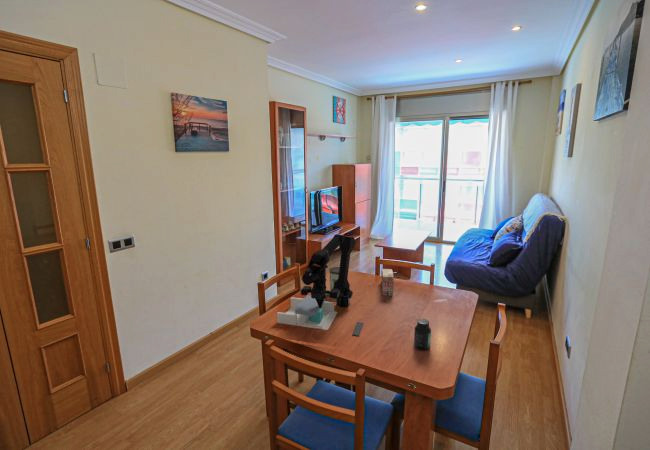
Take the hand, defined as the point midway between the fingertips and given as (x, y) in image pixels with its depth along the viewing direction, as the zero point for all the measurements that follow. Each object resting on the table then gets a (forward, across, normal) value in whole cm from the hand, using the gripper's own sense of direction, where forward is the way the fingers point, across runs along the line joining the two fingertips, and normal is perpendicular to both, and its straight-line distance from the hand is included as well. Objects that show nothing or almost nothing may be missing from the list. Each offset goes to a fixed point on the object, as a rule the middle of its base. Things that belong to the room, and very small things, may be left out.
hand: (320, 308), depth 167 cm
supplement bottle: (+8, +49, -10) cm, 50 cm away
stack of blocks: (+8, +28, +50) cm, 58 cm away
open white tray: (+8, -7, +2) cm, 10 cm away
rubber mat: (+8, +15, -2) cm, 17 cm away
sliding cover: (+1, -6, +2) cm, 6 cm away
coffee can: (+8, -1, +39) cm, 40 cm away
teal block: (+7, -2, 0) cm, 7 cm away
